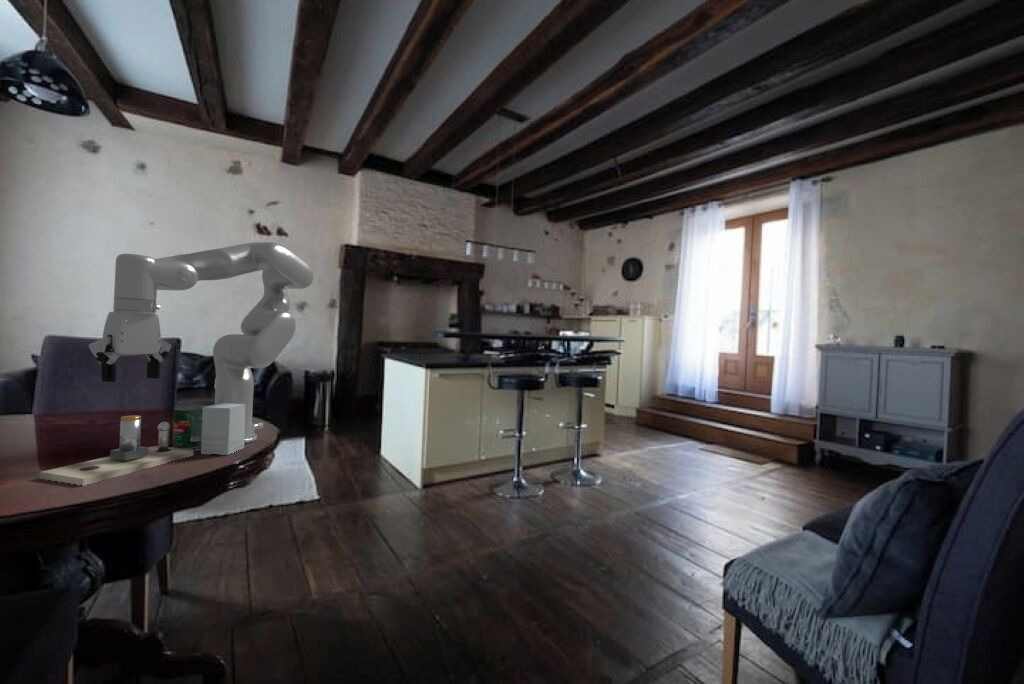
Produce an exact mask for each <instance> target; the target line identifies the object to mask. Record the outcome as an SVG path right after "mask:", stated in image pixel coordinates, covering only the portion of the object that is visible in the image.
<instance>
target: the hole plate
mask: <svg viewBox="0 0 1024 684" xmlns="http://www.w3.org/2000/svg"><path fill="white" fill-rule="evenodd" d="M147 447H148V455H147V456H143V457H139V458H135V459H131V460H127V461H122V460H114V459H110V455H108V456H104V457H100V458H96V459H92V460H86V461H82V462H79V463H74V464H70V465H65V466H61V467H60V466H59V467H57V468H52V469H48V470H43V471H39V480H41V479H44V480H43V481H48V480H51V481H50V482H54V481H58V482H57V483H61V482H65V483H64V484H67V483H70V484H69V485H73V484H76V485H75V486H80V485H82V486H81V487H85V486H88V485H87V484H89V485H92V483H93V484H96V483H99V481H100V482H104V481H106V480H110V479H114V478H118V477H121V476H125V475H129V474H133V473H136V472H139V471H143V469H144V470H147V469H150V468H153V467H154V466H155V467H158V466H161V464H162V465H165V464H168V462H169V463H172V462H171V461H173V462H176V461H179V459H180V460H184V459H187V458H190V456H191V457H193V456H194V449H181V448H173V447H172V446H168V450H167V451H158V445H153V446H152V445H151V446H147ZM186 457H187V458H186ZM183 458H184V459H183ZM175 460H176V461H175ZM157 465H158V466H157ZM146 468H147V469H146ZM103 480H104V481H103ZM84 485H85V486H84Z"/></svg>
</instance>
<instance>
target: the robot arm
mask: <svg viewBox="0 0 1024 684" xmlns="http://www.w3.org/2000/svg"><path fill="white" fill-rule="evenodd" d="M114 270H115V271H114V289H113V291H114V293H113V311H109V312H108V314H107V316H106V319H105V322H104V323H105V324H104V328H103V333H102V338H100V339H98V340H96V341H93V342H92V343H89V344H88V348H89V351H90V352H91V353H92V357H94V359H95V360H97V362H98V363H99V364H101V368H100V369H101V370H100V372H101V373H100V377H101V381H102V382H104V383H105V382H106V383H115V382H116V381H117V364H115V362H116V361H117V360H118V359H119V358H120V357H121V356H123V357H124V356H127V357H128V356H145V357H147V359H148V360H149V361H147V364H146V377H147V378H148V379H155V380H156V379H157V380H158V379H160V376H161V375H160V374H161V363H163V362H164V359H165V358H166V357H167V356H168V355H169V352H170V350H171V349H172V346H173V345H172V344H171V343H169V342H167V341H166V340H163V339H162V338H161V337H162V335H161V325H160V324H161V323H160V320H159V319H160V318H159V315H158V314H157V311H158V310H160V307H161V306H160V305H159V304H157V293H158V291H186V290H189V289H191V288H194V286H195V285H196V284H197V283H198V281H199V282H200V281H202V282H203V281H219V280H227V279H232V278H234V277H238V276H239V277H240V276H242V275H246V274H251V273H254V272H259V271H262V273H261V279H262V282H263V289H264V290H263V291H264V292H263V295H262V297H261V299H260V300H259V301H258V302H257V303H256V305H255V306H253V308H252V309H251V310H250V311H249V312H248V313H247V314H246V315H245V317H244V318H243V319H242V321H241V323H240V330H241V332H242V334H239V333H238V334H237V333H235V334H233V333H231V334H226V335H223V336H221V337H220V338H218V339H217V340H216V341H215V343H214V346H213V348H212V354H213V355H212V356H213V357H212V358H213V362H214V368H215V391H214V392H215V393H214V394H215V396H214V404H219V403H229V404H246V407H245V437H244V444H248V443H252V442H254V441H256V440H257V439H258V434H256V433H255V432H256V430H260V429H263V428H264V423H263V422H257V423H255V422H253V407H254V404H253V403H254V386H255V384H254V383H255V381H254V379H255V378H254V375H253V372H252V369H264V368H267V367H269V366H270V365H271V364H273V363H274V362H275V360H276V359H277V358H278V357H279V356H280V354H281V353H282V352H283V351H284V349H285V348H286V347H287V345H288V344H289V343H290V341H291V340H292V338H293V337H294V335H295V333H296V327H297V326H296V324H297V323H296V320H295V318H294V316H293V315H292V314H291V313H289V310H290V309H291V308H290V307H291V301H290V297H289V294H288V290H287V289H291V290H293V289H295V290H298V289H299V290H302V289H306V288H308V287H310V285H312V283H313V280H314V273H313V270H312V268H311V266H310V265H308V263H306V262H305V261H304V260H302V259H301V258H300V257H299V256H298V255H296V254H295V253H293V252H292V251H291V250H289V249H288V248H286V247H285V246H283V245H281V244H279V243H277V242H273V241H268V242H258V241H256V242H246V243H242V244H241V243H240V244H237V245H231V246H225V247H219V248H215V249H208V250H206V249H205V250H202V251H201V250H200V251H196V252H192V253H185V254H184V253H183V254H178V255H171V256H166V257H165V256H164V257H160V258H154V257H152V256H148V255H142V254H137V253H120V254H118V255H117V256H116V257H115V269H114Z"/></svg>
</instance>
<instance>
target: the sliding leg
mask: <svg viewBox="0 0 1024 684" xmlns="http://www.w3.org/2000/svg"><path fill="white" fill-rule="evenodd" d="M141 424H142V416H141V415H138V414H137V415H136V414H133V415H132V414H131V415H124V416H123V415H122V416H121V417H120V423H119V425H120V426H119V427H120V428H119V429H120V430H119V448H116V449H111V450H110V454H109V456H110V459H114V460H122V461H127V460H131V459H135V458H139V457H143V456H147V455H148V447H149V446H142V445H141V431H142V430H141Z"/></svg>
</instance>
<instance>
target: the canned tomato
mask: <svg viewBox="0 0 1024 684" xmlns="http://www.w3.org/2000/svg"><path fill="white" fill-rule="evenodd" d="M206 406H209V405H206V404H186V405H178V406H175V407H174V408H173V411H174V412H173V427H172V428H173V429H172V446H171V447H173V448H181V449H189V450H194V449H193V448H196V449H200V448H199V447H201V440H202V408H203V407H206Z"/></svg>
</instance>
